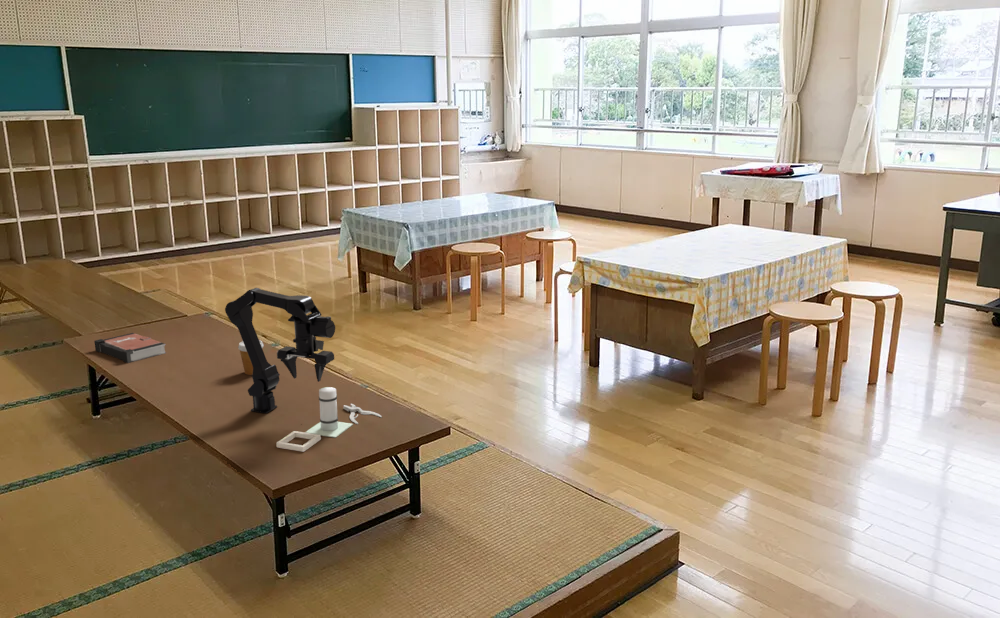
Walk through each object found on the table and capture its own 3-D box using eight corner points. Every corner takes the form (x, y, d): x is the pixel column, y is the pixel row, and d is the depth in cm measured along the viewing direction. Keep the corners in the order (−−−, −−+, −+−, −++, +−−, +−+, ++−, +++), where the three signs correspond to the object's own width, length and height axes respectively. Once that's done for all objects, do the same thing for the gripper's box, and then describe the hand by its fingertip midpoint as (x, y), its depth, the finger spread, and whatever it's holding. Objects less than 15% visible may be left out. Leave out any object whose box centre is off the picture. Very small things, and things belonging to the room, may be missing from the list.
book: (168, 353, 339) (166, 342, 338) (127, 364, 326) (126, 352, 324) (135, 342, 355) (134, 331, 353) (95, 352, 341) (94, 340, 340)
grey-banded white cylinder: (319, 431, 259) (317, 393, 256) (321, 424, 264) (319, 387, 261) (337, 431, 259) (335, 393, 256) (339, 424, 265) (337, 386, 261)
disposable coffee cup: (269, 368, 319) (267, 339, 316) (260, 376, 310) (257, 346, 307) (246, 367, 320) (243, 338, 317) (236, 376, 311) (233, 346, 308)
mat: (305, 433, 259) (305, 432, 259) (323, 420, 269) (323, 419, 269) (335, 437, 255) (335, 436, 255) (353, 424, 265) (353, 423, 265)
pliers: (356, 421, 265) (334, 407, 276) (356, 425, 265) (334, 411, 277) (382, 413, 271) (360, 400, 282) (382, 418, 271) (360, 405, 283)
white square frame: (276, 447, 248) (276, 442, 248) (294, 435, 257) (294, 430, 257) (303, 451, 245) (303, 447, 245) (320, 439, 254) (320, 435, 253)
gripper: (341, 330, 269) (344, 375, 273) (293, 325, 275) (296, 369, 279) (323, 340, 259) (326, 386, 263) (274, 334, 265) (277, 379, 269)
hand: (307, 379), depth 269 cm, fingers open, 9 cm apart
